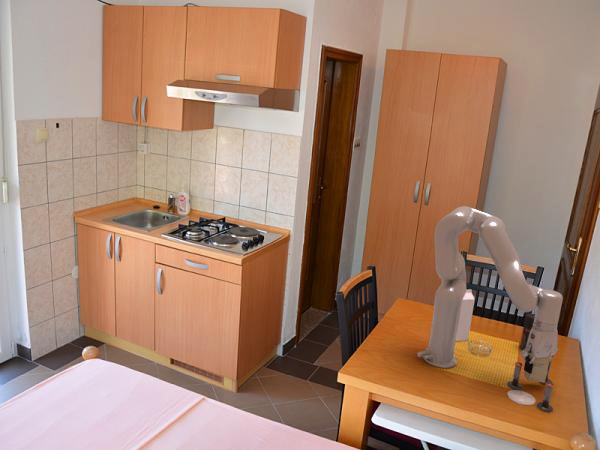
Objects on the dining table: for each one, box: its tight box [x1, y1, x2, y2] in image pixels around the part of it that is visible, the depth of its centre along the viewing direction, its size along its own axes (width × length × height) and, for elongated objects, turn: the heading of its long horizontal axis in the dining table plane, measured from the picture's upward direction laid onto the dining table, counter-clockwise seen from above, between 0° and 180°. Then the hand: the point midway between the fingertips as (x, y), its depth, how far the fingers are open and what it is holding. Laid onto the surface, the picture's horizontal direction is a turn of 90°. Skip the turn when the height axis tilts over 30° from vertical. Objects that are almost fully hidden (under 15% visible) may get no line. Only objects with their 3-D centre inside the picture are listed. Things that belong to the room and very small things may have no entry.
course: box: [506, 360, 554, 413], centre depth 184 cm, size 19×19×9 cm
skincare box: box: [523, 352, 551, 383], centre depth 188 cm, size 6×4×12 cm
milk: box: [456, 288, 476, 342], centre depth 223 cm, size 6×6×22 cm
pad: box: [507, 389, 536, 406], centre depth 181 cm, size 9×9×1 cm
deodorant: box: [519, 312, 535, 352], centre depth 218 cm, size 6×6×15 cm
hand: (536, 370), depth 188 cm, fingers closed on skincare box, 7 cm apart
